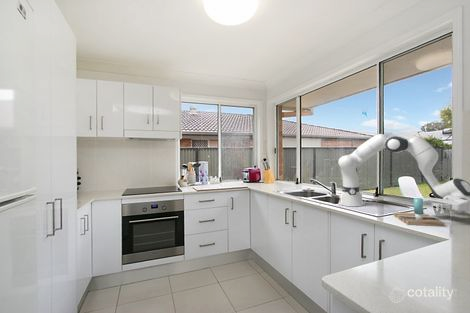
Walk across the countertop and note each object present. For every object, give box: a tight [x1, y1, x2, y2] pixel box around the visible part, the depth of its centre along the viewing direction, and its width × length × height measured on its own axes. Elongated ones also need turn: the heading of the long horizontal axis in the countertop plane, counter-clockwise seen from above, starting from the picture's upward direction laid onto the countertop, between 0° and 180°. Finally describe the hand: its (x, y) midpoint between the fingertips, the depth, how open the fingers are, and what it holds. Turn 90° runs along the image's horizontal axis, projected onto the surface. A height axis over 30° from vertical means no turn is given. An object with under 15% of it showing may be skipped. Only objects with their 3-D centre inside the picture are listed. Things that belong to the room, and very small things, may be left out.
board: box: [392, 211, 446, 227], centre depth 126 cm, size 20×16×2 cm
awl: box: [413, 197, 424, 220], centre depth 123 cm, size 4×4×13 cm
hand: (431, 204), depth 124 cm, fingers open, 8 cm apart
